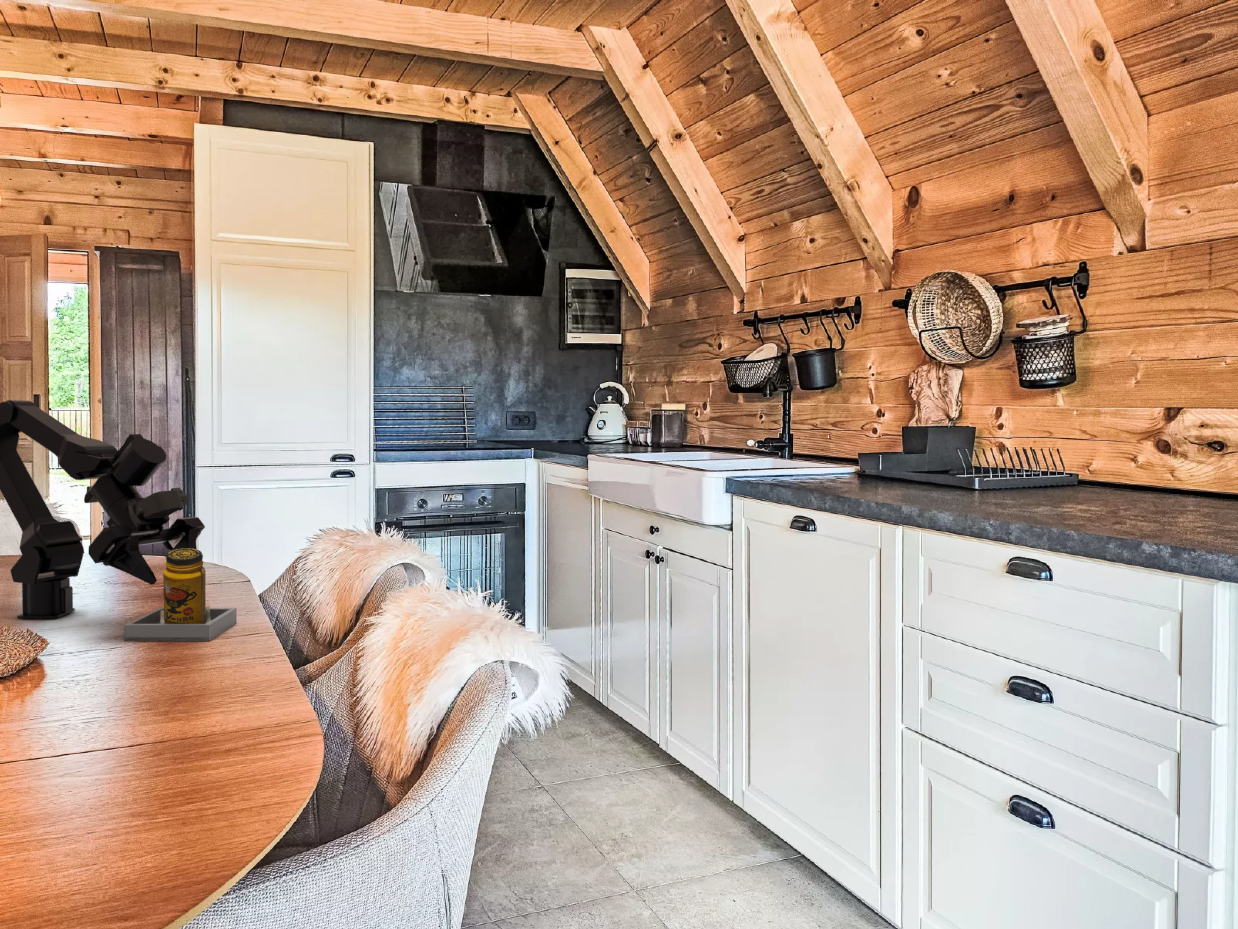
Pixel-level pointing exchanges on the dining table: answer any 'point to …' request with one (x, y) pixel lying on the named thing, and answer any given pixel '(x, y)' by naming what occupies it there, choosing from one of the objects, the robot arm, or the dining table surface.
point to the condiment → (184, 588)
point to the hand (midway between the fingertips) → (177, 578)
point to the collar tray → (179, 627)
